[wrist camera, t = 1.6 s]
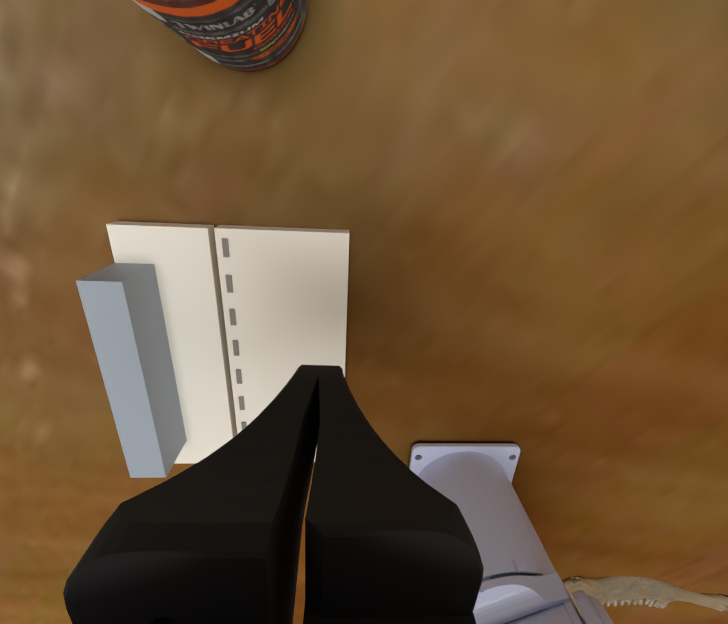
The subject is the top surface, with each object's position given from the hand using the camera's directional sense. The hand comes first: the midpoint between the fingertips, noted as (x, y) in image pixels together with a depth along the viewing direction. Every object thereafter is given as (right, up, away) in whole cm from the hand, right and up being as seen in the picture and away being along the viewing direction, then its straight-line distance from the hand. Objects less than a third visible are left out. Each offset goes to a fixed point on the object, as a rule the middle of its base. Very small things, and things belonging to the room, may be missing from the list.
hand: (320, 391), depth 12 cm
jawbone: (+28, -28, +25) cm, 47 cm away
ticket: (-3, 0, +11) cm, 12 cm away
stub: (-10, 0, +11) cm, 14 cm away
